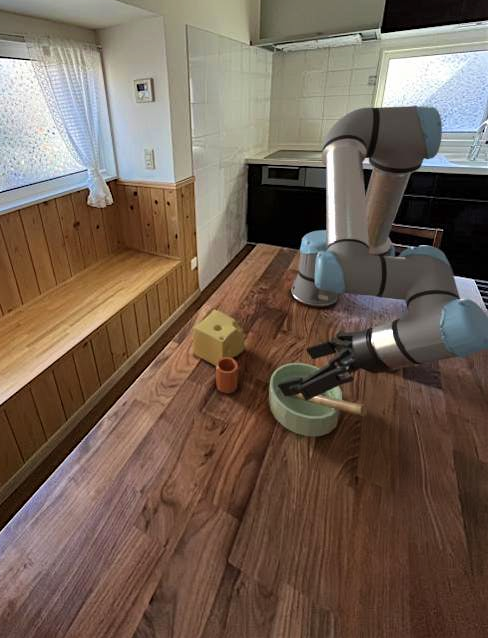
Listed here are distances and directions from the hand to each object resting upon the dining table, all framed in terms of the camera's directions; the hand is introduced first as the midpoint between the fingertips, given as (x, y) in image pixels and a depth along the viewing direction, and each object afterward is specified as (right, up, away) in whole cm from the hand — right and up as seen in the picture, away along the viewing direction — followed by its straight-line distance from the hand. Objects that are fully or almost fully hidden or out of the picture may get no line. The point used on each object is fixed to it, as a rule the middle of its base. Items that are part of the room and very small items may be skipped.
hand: (296, 370), depth 75 cm
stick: (0, -7, +5) cm, 8 cm away
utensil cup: (-15, -7, +9) cm, 19 cm away
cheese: (-16, -3, +20) cm, 25 cm away
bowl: (+2, -9, +2) cm, 10 cm away
